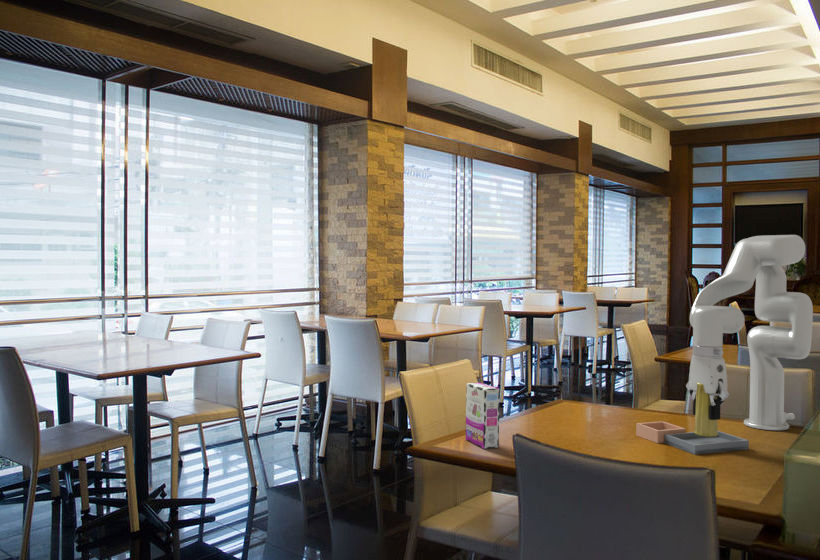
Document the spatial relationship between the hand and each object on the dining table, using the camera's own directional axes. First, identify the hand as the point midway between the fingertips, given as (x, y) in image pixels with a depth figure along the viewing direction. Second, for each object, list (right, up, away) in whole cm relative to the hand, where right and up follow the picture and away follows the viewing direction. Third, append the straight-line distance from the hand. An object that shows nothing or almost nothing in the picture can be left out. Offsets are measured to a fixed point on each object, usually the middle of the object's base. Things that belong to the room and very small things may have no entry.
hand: (706, 416), depth 185 cm
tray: (0, -8, 0) cm, 8 cm away
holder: (-9, -8, +9) cm, 15 cm away
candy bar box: (-62, -8, +1) cm, 63 cm away
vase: (0, -5, 0) cm, 5 cm away
